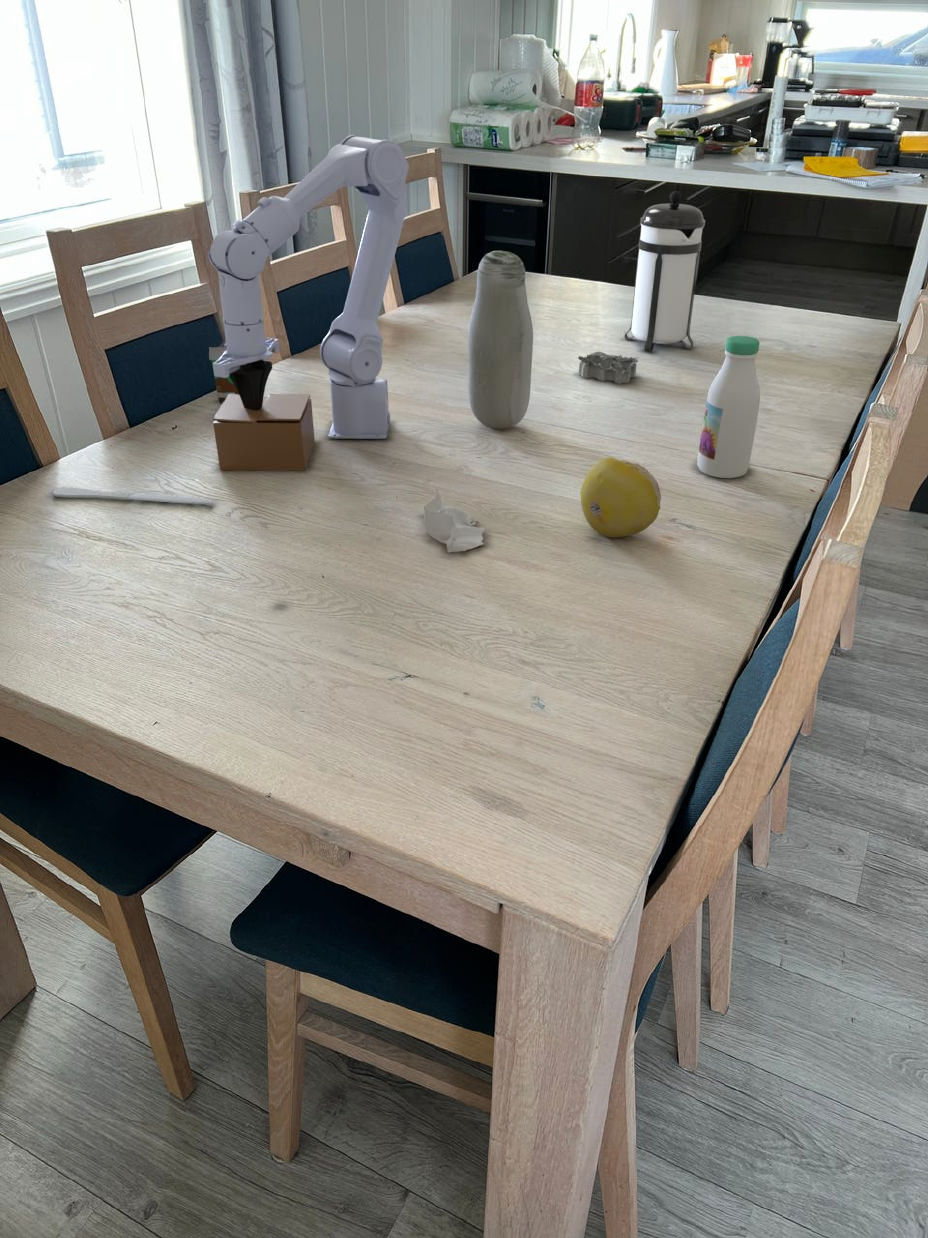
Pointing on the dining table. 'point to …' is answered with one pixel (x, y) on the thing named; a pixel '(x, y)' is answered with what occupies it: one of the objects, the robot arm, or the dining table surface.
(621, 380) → the egg carton
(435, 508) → the fabric
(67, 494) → the butter knife
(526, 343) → the grey bottle
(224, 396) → the food container
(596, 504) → the fruit
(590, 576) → the dining table surface
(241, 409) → the flap
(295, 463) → the carton
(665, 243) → the coffee press
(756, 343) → the milk bottle
